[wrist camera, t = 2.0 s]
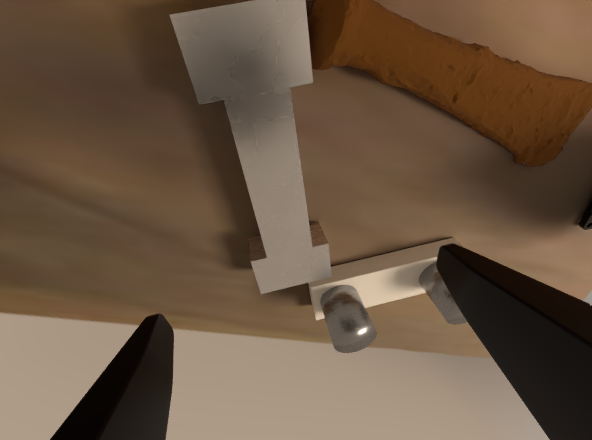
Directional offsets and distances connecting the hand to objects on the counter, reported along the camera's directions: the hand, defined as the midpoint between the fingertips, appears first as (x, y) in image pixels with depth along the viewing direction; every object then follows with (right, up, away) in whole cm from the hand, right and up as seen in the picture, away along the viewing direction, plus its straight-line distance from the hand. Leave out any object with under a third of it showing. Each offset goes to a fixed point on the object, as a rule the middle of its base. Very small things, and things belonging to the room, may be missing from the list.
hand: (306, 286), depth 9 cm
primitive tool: (+9, +10, +7) cm, 15 cm away
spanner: (-2, +5, +7) cm, 9 cm away
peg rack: (+7, -2, +14) cm, 16 cm away
